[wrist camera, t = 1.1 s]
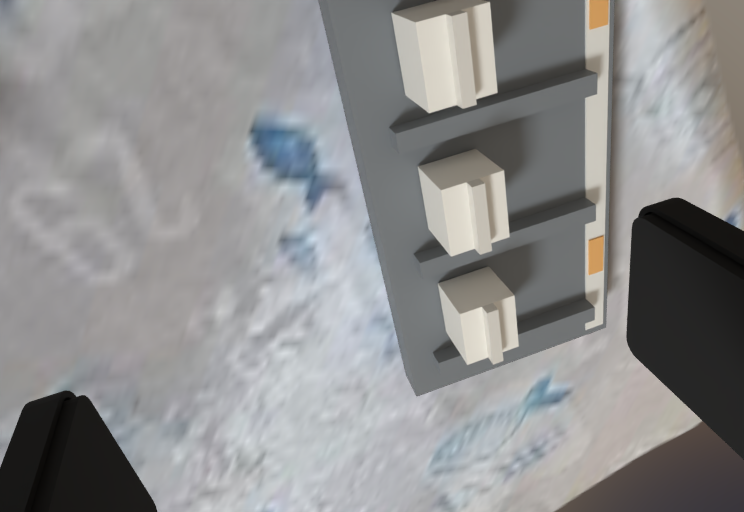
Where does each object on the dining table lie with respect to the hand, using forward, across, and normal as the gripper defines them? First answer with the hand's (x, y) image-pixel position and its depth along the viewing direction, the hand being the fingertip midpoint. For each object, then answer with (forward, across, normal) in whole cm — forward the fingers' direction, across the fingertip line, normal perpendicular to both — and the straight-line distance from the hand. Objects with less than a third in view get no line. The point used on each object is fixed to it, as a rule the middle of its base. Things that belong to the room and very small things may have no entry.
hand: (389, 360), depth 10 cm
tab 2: (+17, -7, +6) cm, 20 cm away
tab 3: (+17, -7, +13) cm, 23 cm away
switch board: (+20, -10, +6) cm, 23 cm away
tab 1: (+17, -7, -1) cm, 19 cm away
